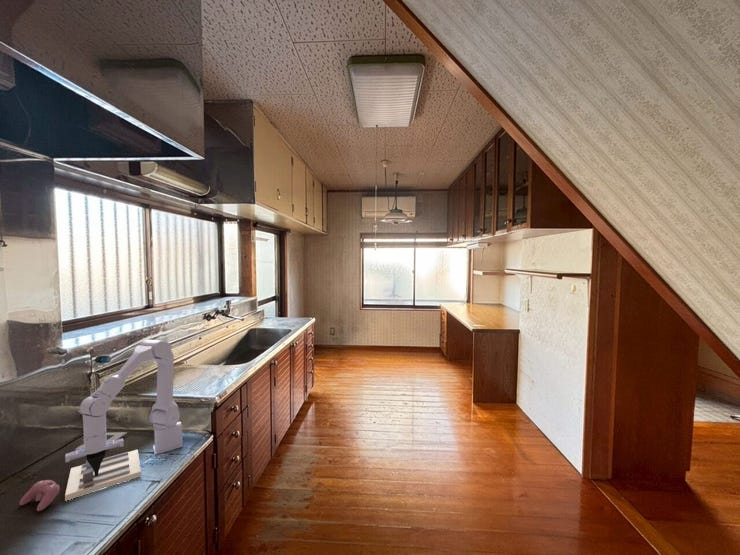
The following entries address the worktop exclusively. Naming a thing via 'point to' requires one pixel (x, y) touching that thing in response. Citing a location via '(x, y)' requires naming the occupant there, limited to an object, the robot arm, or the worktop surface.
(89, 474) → the charcoal tab
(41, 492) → the video game controller
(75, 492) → the switch panel
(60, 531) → the worktop surface
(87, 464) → the slate tab
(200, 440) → the worktop surface
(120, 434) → the electrical outlet
